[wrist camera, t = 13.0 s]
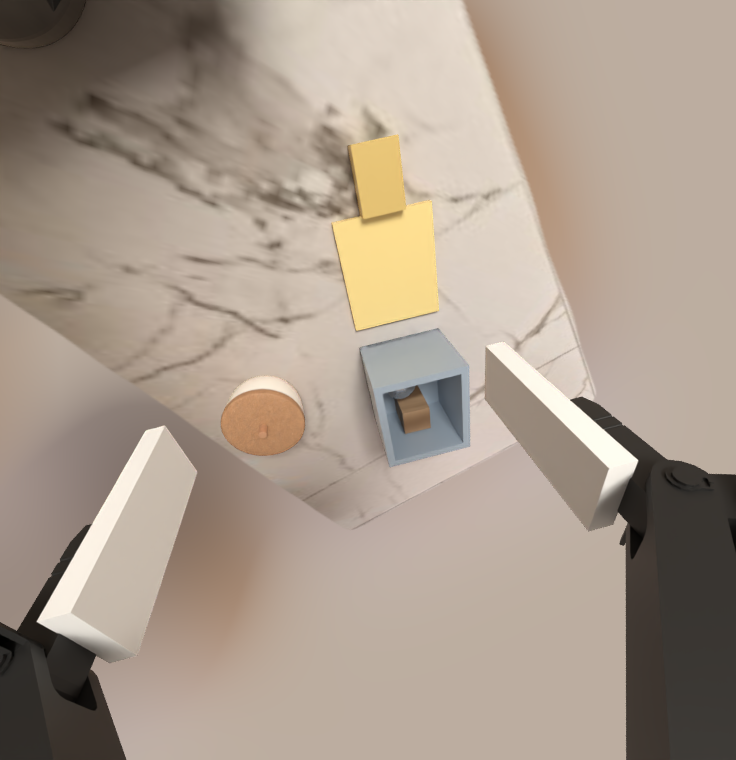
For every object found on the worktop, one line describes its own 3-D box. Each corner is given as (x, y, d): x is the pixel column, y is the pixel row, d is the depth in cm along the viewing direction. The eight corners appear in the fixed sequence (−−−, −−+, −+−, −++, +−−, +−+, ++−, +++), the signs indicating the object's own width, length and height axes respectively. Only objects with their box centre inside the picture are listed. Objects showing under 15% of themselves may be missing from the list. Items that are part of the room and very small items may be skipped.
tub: (359, 347, 50) (373, 389, 41) (438, 328, 50) (469, 365, 41) (375, 418, 57) (389, 467, 48) (443, 401, 58) (470, 446, 49)
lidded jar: (316, 380, 52) (320, 419, 44) (285, 429, 56) (282, 473, 48) (248, 350, 47) (238, 388, 39) (219, 406, 51) (204, 450, 43)
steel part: (375, 357, 50) (384, 379, 45) (401, 350, 50) (412, 371, 45) (381, 379, 52) (389, 402, 47) (406, 372, 52) (417, 394, 47)
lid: (315, 152, 36) (316, 152, 34) (423, 128, 37) (431, 127, 35) (355, 327, 48) (357, 335, 46) (436, 308, 49) (442, 314, 47)
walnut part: (393, 390, 54) (402, 413, 49) (417, 384, 54) (429, 407, 49) (395, 409, 56) (405, 433, 51) (419, 404, 56) (430, 427, 51)
